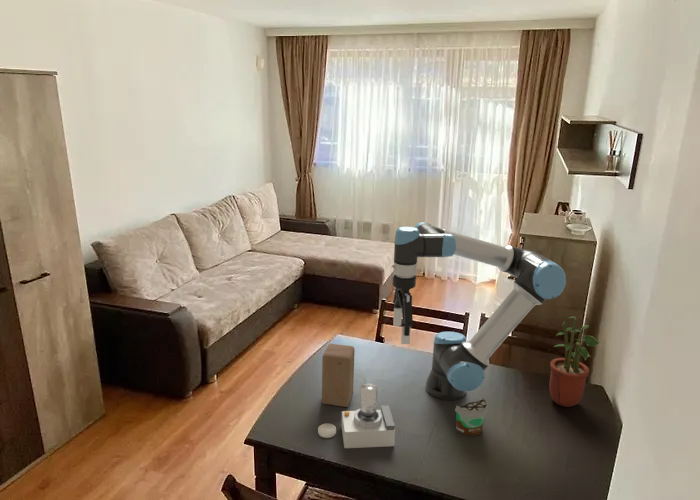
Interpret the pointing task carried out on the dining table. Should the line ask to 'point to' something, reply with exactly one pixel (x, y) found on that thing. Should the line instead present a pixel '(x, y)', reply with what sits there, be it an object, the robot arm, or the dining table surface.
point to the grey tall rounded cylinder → (368, 402)
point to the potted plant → (570, 369)
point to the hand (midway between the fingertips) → (401, 334)
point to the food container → (471, 417)
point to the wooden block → (337, 375)
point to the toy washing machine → (368, 429)
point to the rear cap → (327, 430)
